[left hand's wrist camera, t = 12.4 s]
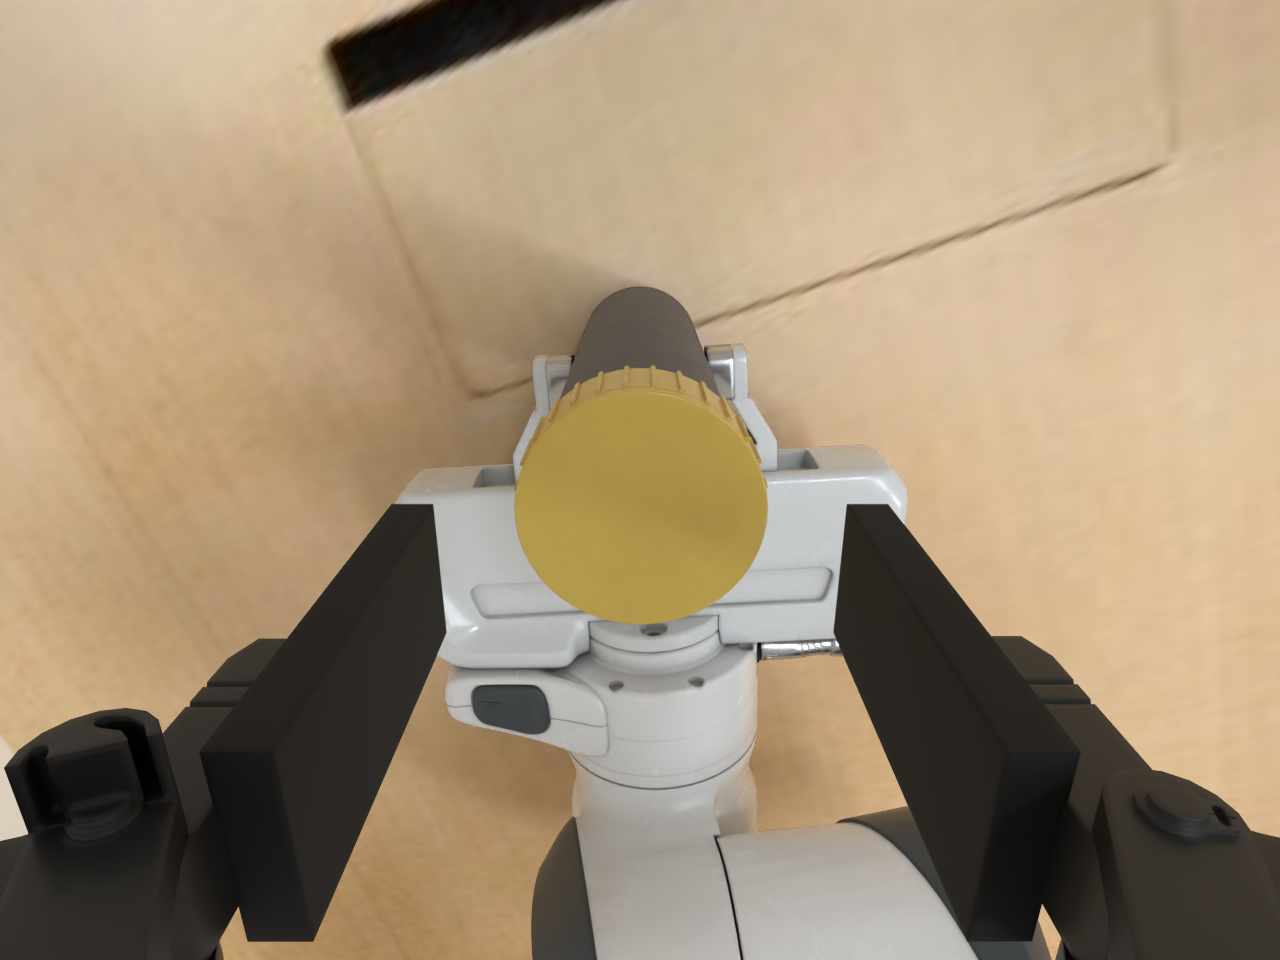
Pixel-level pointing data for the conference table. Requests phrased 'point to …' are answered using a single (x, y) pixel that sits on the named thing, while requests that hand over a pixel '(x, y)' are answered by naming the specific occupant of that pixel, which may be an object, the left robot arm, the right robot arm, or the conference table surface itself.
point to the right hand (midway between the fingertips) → (637, 351)
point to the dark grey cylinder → (640, 338)
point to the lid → (641, 497)
